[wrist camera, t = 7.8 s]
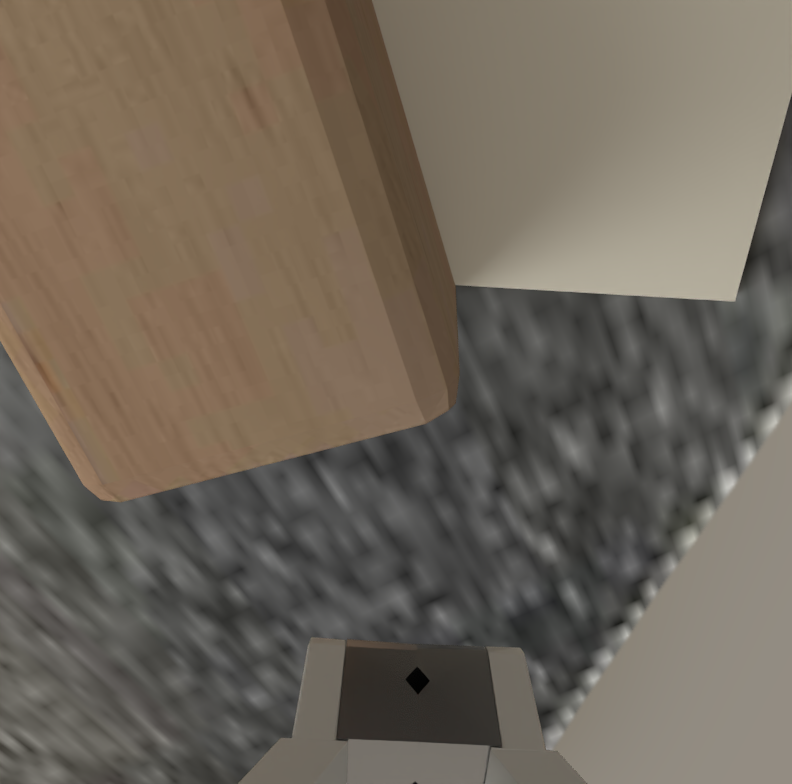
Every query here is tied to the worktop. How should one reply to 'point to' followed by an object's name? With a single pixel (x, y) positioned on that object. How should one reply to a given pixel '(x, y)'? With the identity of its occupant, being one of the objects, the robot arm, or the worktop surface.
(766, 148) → the mat
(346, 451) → the worktop surface
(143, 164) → the block
